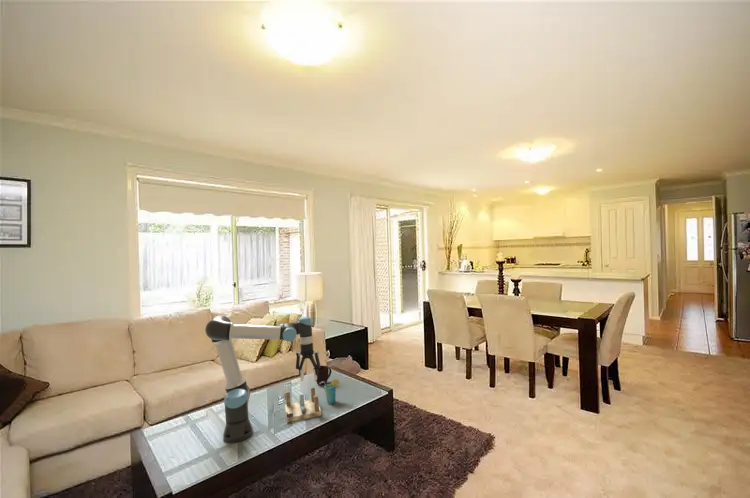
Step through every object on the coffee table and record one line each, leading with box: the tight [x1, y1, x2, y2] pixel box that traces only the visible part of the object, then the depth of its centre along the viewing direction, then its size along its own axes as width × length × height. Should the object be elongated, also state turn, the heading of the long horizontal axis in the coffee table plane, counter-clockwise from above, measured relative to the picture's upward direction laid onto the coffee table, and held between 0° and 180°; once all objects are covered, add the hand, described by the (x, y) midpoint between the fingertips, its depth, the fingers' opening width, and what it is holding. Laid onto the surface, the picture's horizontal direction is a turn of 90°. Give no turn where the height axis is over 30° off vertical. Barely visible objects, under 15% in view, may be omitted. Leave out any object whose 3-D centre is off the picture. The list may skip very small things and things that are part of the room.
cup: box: [319, 378, 340, 405], centre depth 231 cm, size 14×8×15 cm, turn 128°
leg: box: [298, 392, 306, 413], centre depth 216 cm, size 10×2×8 cm, turn 17°
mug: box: [312, 365, 332, 386], centre depth 267 cm, size 10×14×12 cm
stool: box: [284, 386, 322, 423], centre depth 220 cm, size 20×20×11 cm
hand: (309, 380), depth 220 cm, fingers open, 8 cm apart
